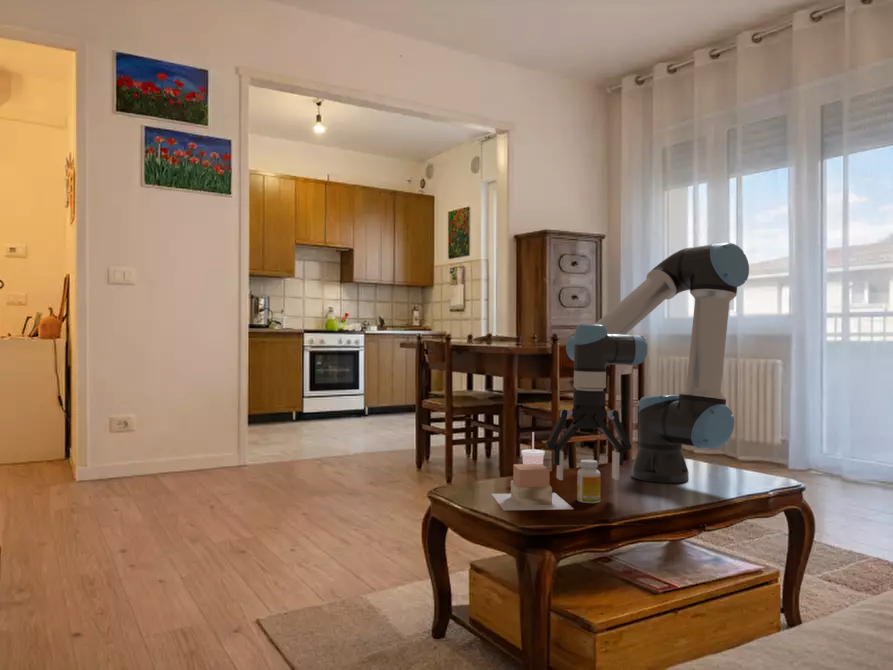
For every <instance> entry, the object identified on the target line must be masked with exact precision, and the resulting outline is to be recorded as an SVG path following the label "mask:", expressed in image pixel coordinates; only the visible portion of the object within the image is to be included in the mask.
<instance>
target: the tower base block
mask: <svg viewBox="0 0 893 670" xmlns="http://www.w3.org/2000/svg"><path fill="white" fill-rule="evenodd" d="M552 493H553V487H552V486H551V485H550V484H549V487H519V486H518V485H517V484H516V483H515V482H514V481H513V480H511V481H510V494H511V498H512V499H513V501H514V502H515V503H516V504H517V505H518V506H520V505H552Z"/></svg>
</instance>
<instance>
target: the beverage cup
mask: <svg viewBox="0 0 893 670" xmlns="http://www.w3.org/2000/svg"><path fill="white" fill-rule="evenodd" d="M531 433H532V434H531V437H532V438H531V449H529V448H528V449H522V450H521V455H522V464H543V465H544V456H545V453H546V451H545V450H542V449H536V448H535V431H532V432H531Z"/></svg>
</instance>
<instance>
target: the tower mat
mask: <svg viewBox="0 0 893 670" xmlns="http://www.w3.org/2000/svg"><path fill="white" fill-rule="evenodd" d="M491 496H492V497H493V498H494V500H496V502H497V503H498V505H499V506H500V508H501V509H502V510H503V511H542V510H543V511H544V510H545V511H549V510H550V511H551V510H553V511H555V510H560V511H561V510H575V509H574V507H572V505H570V504H569V503H568V502H566V500H564V499H563V498H562V497H560V496H559V495H558V494H557V493H556V492H552V505H520V506H518V505H517V504H516V503H515V502H514V501H513V499H512V498H511V493H491Z"/></svg>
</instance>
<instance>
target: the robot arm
mask: <svg viewBox="0 0 893 670" xmlns="http://www.w3.org/2000/svg"><path fill="white" fill-rule="evenodd" d="M749 274H750V265H749V261H748V258H747V254H745V253H744V250H743V249H742V248H741V247H740V246H739V245H737V244H736V243H733V242H716V243H712V244H707V245H705V244H704V245H699V246H693V247H686V248H683V249H680V250H678V251H676V252H674V253H672V254H671V255H669V256H668V257H666V258H665V259H663V260H662V261H661V262H660V263H658V264H657V265H656V266H654V268H652V269H651V270H650V271H649V272H648V273H647V275H646V279H645V280H644V281H643V282H642V283H640V284H639V285H638V286H637V287H636V288H635V289H634V290H633V291H632V292H630V293H629V294H627V296H626V297H624V298H623V299H622V300H621V301H620V302H619V303H617V305H615V306H614V307H613V308H612V309H611V310H609V311H608V312H607V313H606V314H605V315H604V316H602V317H601V318H600V319H599V320H598V321H596V323H594V324H591V323H590V324H578V325H577V326H575V330H574V334H573V335H571V336H570V337H568V339H567V342H566V346H565V352H566V354H567V356H568V358H569V359H570V360H571V361H573V388H575V389H574V390H573V399H572V409H571V410H567V409H564V408H561V409H560V410H559V414H558V418H557V421H556V422H555V424H554V426H553V429H552V430H551V432H550V434H549V436H548V439H547V440H546V442H545V445H544V446H545V447H546V448H547V449H549V450H552V463H553V465H554V466H556V479H557V480H559V481H563V480H564V451H563V450H562V449H563V448H564V446H565V445H567V443H568V442H569V441H570V439H572V437H574V436H575V434H576V432H578V431H579V430H580V429H582V430H588V429H592V430H597V429H599V430H600V432H601V433H602V434H603V436H604V437H605V438H606V439H607V440H608V441H609V443H610V444H611V445H612V447H614V449H615V450H612V452H611V453H612V454H611V455H612V456H611V457H612V459H611V460H612V461H611V462H612V463H611V479H613V480H615V481H619V480H620V466H623V465H624V453H625V452H626V451H628V450H631V449H632V445H631V442H630V440H629V438H628V435H627V434H626V431H625V429H624V427H623V425H622V422H621V421H620V413H619V410H617V409H611V410H606V409H607V408H606V405H607V404H606V400H607V399H606V396H607V395H606V394H607V393H606V391H605V390H604V389H606V388H607V365H617V366H618V365H619V366H620V365H621V366H622V365H625V366H632V365H640V364H642V363H643V362H644V361H645V360H646V358H647V355H648V344H647V342H646V340H645V339H644V337H642V336H641V335H638V334H633V333H629V332H631V330H633V329H634V328H635V327H636V326H637V325H638V324H639V323H640V322H642V320H644V319H645V318H646V317H647V316H648V315H649V314H650V313H652V312H653V311H654V310H655V309H656V308H658V306H659V305H660V304H661V303H663V302H664V301H665V300H671V299H673V298H674V297H675V296H676V295H678V294H680V293H683V292H685V291H689V295H691V296H692V297H693V298H694V305H693V306H694V308H693V318H692V328H691V336H690V337H691V338H690V347H689V355H688V366H687V373H686V374H687V377H686V385H685V388H684V389H682V391H680V392H679V394H669V395H655V396H654V395H653V396H643V397H641V398H640V400H639V402H638V403H639V404H638V411H637V415H638V417H637V418H638V420H637V421H638V424H637V425H638V447H637V448H638V450H637V453H636V456H635V459H634V461H633V465H632V468H631V477H632V478H634V479H637V480H640V481H645V482H652V483H662V484H663V483H664V484H678V483H679V484H680V483H684V482H685V483H686V482H687V481H689V479H690V478H689V476H690V475H689V470H688V469H689V468H688V467H687V464H686V463H687V462H686V460H685V457H684V453H683V446H690V447H695V448H697V449H702V450H703V449H706V450H707V449H708V450H714V449H719V448H721V447H723V446H724V445H725V444H726V443H727V442H729V439H730V438H731V437H732V434H733V431H734V429H735V417H734V416H735V415H733V411H732V410H731V408H730V407H728V406H727V405H726V404H727V398H726V396H725V395H724V394H723V393H722V381H723V373H724V371H723V370H724V361H725V353H726V352H725V351H726V342H727V333H728V321H729V314H730V313H729V311H730V302H731V301H732V300H734V299H735V298H736V297H737V295H738V287H741V286H742V285H744V284H745V283H746V281H747V280H748V278H749ZM570 416H571V417H572V419H573V421H572V422H571V424H570V425H569V427H567V429H566V430H565V432H564V433H563V434H562V435H561V432H562V430H563V429H564V426H565V424H566V422H567V420H569V419H570ZM606 418H608V419H609V420H610V421H611V423H612V425H613V427H614V430H615V433H616V435H617V436H618V438H619V441H620V442H619V441H618V439H617V438H616V436H615V435H614V434H613V433H612V432H611V430H610V428H608V426H607V424H606V423H605V422H604V421H605V420H606ZM560 435H561V436H560ZM559 436H560V437H559ZM558 438H559V439H558Z"/></svg>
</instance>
